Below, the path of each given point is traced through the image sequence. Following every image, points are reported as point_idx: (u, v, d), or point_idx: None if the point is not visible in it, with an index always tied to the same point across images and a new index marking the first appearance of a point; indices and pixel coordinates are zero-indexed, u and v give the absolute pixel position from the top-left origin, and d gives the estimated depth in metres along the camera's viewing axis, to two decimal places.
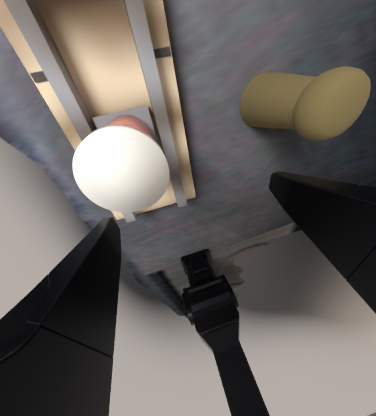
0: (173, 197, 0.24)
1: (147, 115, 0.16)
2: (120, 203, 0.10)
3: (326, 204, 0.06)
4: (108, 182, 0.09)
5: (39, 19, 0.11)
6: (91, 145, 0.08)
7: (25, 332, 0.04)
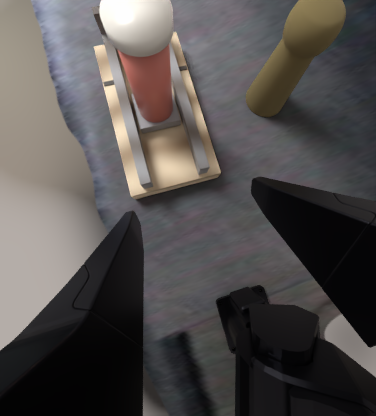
0: (195, 171, 0.21)
1: None
2: (128, 31, 0.11)
3: (300, 211, 0.06)
4: (122, 13, 0.12)
5: (117, 55, 0.22)
6: None
7: (77, 316, 0.04)
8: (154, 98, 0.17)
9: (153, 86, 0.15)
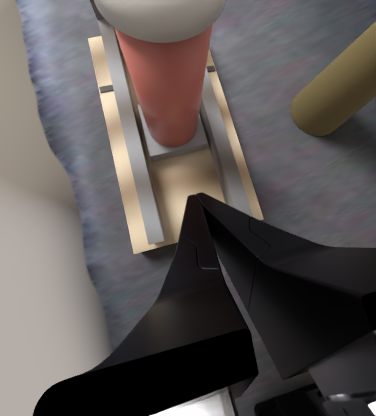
0: None
1: None
2: None
3: (222, 234, 0.06)
4: None
5: (119, 50, 0.15)
6: None
7: (212, 274, 0.04)
8: (175, 116, 0.10)
9: (176, 98, 0.09)
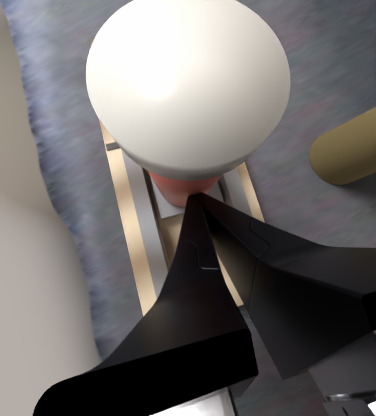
0: None
1: None
2: (169, 135, 0.04)
3: (222, 234, 0.06)
4: (152, 80, 0.04)
5: None
6: (138, 12, 0.04)
7: (212, 274, 0.04)
8: None
9: (198, 190, 0.08)
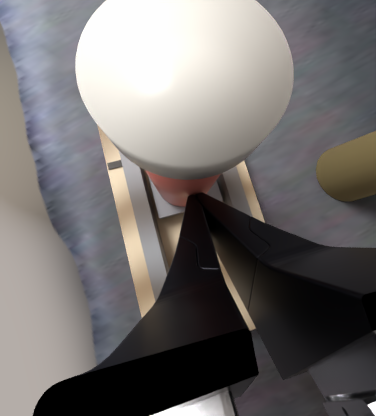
0: None
1: None
2: (165, 131, 0.04)
3: (222, 234, 0.06)
4: (146, 72, 0.04)
5: None
6: None
7: (212, 274, 0.04)
8: None
9: (197, 189, 0.08)
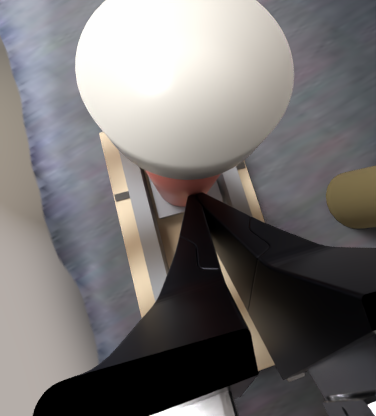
0: (266, 352, 0.13)
1: None
2: (165, 131, 0.04)
3: (222, 234, 0.06)
4: (146, 72, 0.04)
5: None
6: None
7: (212, 274, 0.04)
8: None
9: (197, 189, 0.08)
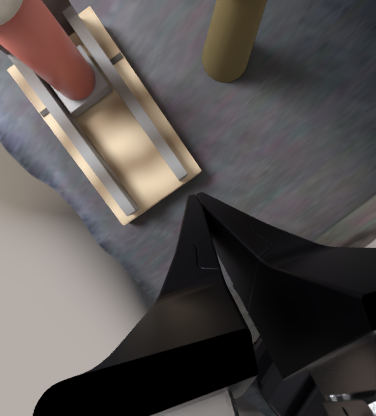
0: (175, 178, 0.20)
1: (82, 52, 0.18)
2: None
3: (222, 234, 0.06)
4: None
5: None
6: None
7: (212, 274, 0.04)
8: (60, 71, 0.14)
9: (48, 56, 0.13)
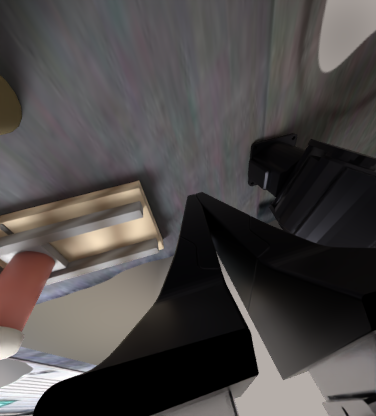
0: None
1: (5, 255, 0.20)
2: (7, 349, 0.15)
3: (222, 234, 0.06)
4: None
5: None
6: None
7: (212, 274, 0.04)
8: (37, 285, 0.18)
9: (30, 297, 0.17)
